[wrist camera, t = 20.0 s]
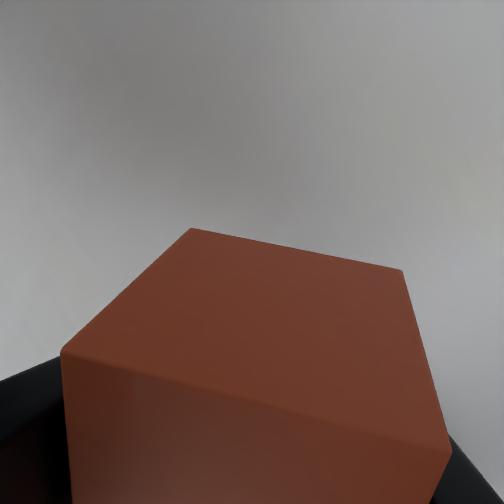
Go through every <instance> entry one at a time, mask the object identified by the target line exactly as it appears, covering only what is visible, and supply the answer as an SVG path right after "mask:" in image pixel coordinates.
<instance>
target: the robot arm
mask: <svg viewBox="0 0 504 504" xmlns="http://www.w3.org/2000/svg"><path fill="white" fill-rule="evenodd" d="M448 436H449V440H450V443H451V447H452V454H451V457H450V459H449V461H448V463H447V465H446V468H445V470H444V472H443V474H442V476H441V479H440V481H439V483H438V485H437V487H436V489H435V492H434V494H433V496H432V498H431V500H430V503H429V504H504V502H503V501H502V499H501V498H500V497H499V496H498V494H497V493H496V492H495V491H494V489H493V488H492V487H491V486H490V485H489V483H488V482H487V481H486V480H485V478H484V477H483V476H482V475H481V474H480V472H479V471H478V470H477V469H476V467H475V466H474V465H473V464H472V462H471V461H470V460H469V459H468V458H467V456H466V455H465V454H464V453H463V451H462V450H461V449H460V448H459V446H458V445H457V444H456V443H455V442H454V440H453V439H452V438H451V437H450V435H449V434H448ZM0 504H72V495H71V482H70V470H69V458H68V445H67V433H66V421H65V408H64V396H63V384H62V371H61V359H60V356H58V357H56V358H54V359H51V360H49V361H46V362H44V363H42V364H39V365H37V366H35V367H32V368H30V369H28V370H25V371H23V372H20V373H18V374H16V375H13V376H11V377H9V378H6V379H4V380H1V381H0Z"/></svg>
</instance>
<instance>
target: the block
mask: <svg viewBox="0 0 504 504" xmlns="http://www.w3.org/2000/svg"><path fill="white" fill-rule="evenodd" d="M60 359H61V371H62V384H63V396H64V408H65V421H66V433H67V445H68V458H69V470H70V482H71V495H72V504H429V503H430V500H431V498H432V496H433V494H434V492H435V489H436V487H437V485H438V483H439V481H440V479H441V476H442V474H443V472H444V470H445V468H446V465H447V463H448V461H449V459H450V457H451V454H452V447H451V443H450V440H449V436H448V433H447V429H446V426H445V422H444V418H443V415H442V411H441V408H440V404H439V401H438V397H437V393H436V390H435V386H434V383H433V379H432V375H431V372H430V368H429V365H428V361H427V358H426V354H425V350H424V347H423V343H422V340H421V336H420V333H419V329H418V325H417V322H416V318H415V315H414V311H413V308H412V304H411V300H410V297H409V293H408V290H407V286H406V283H405V279H404V275H403V272H402V271H401V270H399V269H394V268H389V267H384V266H379V265H374V264H369V263H364V262H359V261H354V260H349V259H344V258H339V257H334V256H329V255H325V254H320V253H315V252H310V251H305V250H300V249H295V248H290V247H285V246H280V245H275V244H270V243H265V242H260V241H255V240H250V239H245V238H240V237H235V236H230V235H225V234H220V233H215V232H210V231H205V230H200V229H195V228H190V229H189V230H188V231H187V232H185V233H184V234H183V235H182V236H181V237H180V238H179V239H178V240H177V241H176V242H175V243H174V244H173V245H172V246H170V247H169V248H168V249H167V250H166V251H165V252H164V253H163V254H162V255H161V256H160V257H159V258H158V259H157V260H155V261H154V262H153V263H152V264H151V265H150V266H149V267H148V268H147V269H146V270H145V271H144V272H143V273H142V274H140V275H139V276H138V277H137V278H136V279H135V280H134V281H133V282H132V283H131V284H130V285H129V286H128V287H127V288H125V289H124V290H123V291H122V292H121V293H120V294H119V295H118V296H117V297H116V298H115V299H114V300H113V301H112V302H110V303H109V304H108V305H107V306H106V307H105V308H104V309H103V310H102V311H101V312H100V313H99V314H98V315H97V316H95V317H94V318H93V319H92V320H91V321H90V322H89V323H88V324H87V325H86V326H85V327H84V328H83V329H82V330H80V331H79V332H78V333H77V334H76V335H75V336H74V337H73V338H72V339H71V340H70V341H69V342H68V343H67V344H65V345H64V346H63V347H62V349H61V352H60Z"/></svg>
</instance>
